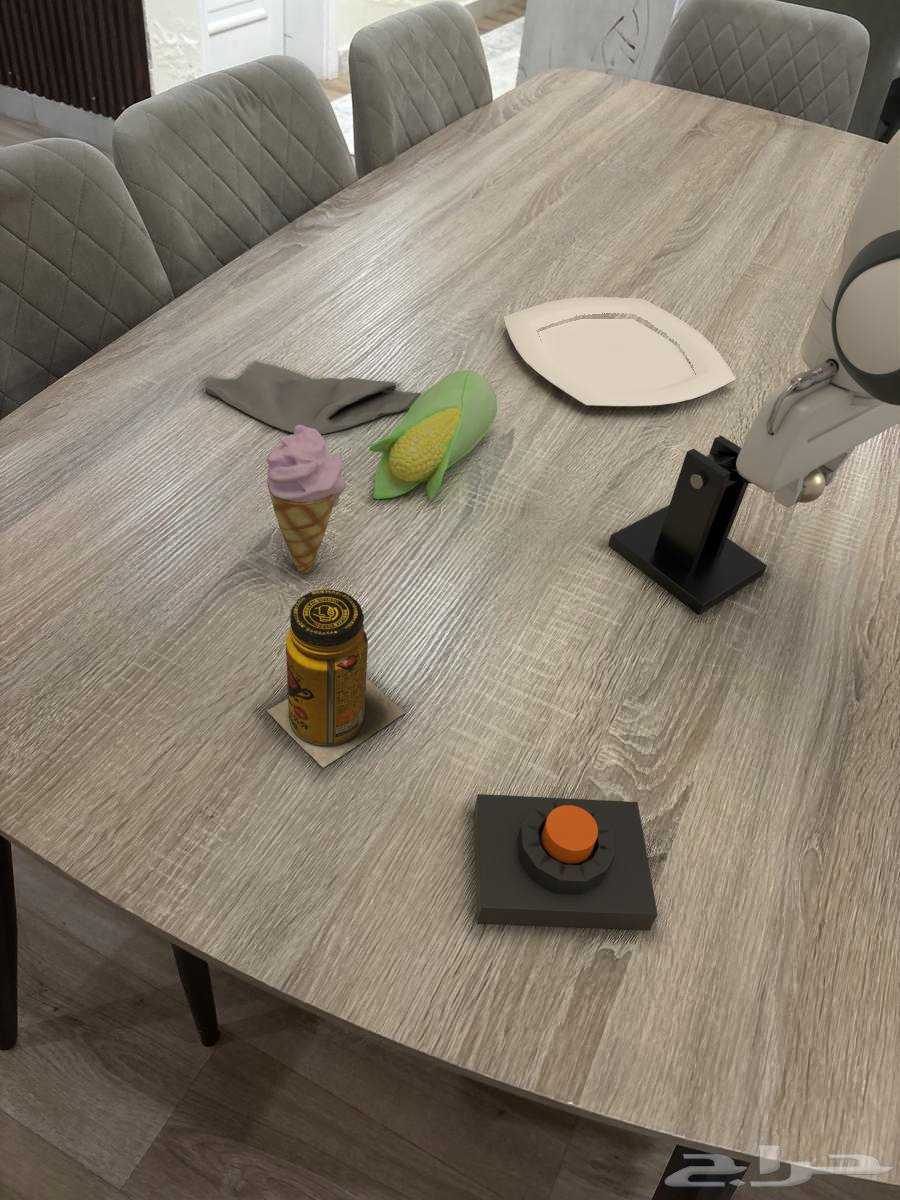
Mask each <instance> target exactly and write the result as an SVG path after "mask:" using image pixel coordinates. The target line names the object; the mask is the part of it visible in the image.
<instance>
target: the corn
mask: <svg viewBox="0 0 900 1200" xmlns="http://www.w3.org/2000/svg"><path fill="white" fill-rule="evenodd" d="M420 394H421V395H420V396H419V398H418V399H417V400H416V401H415V402H414V403H413V405H412V406H411V407H410V408H408V411H407V412H406V414H405V416H404V418H403V419H402V421H401V422H400V423H399V424H397V426H396V427H395V428H394V429H393V430H392V431H391V433H390V434H389V435H387V436H386V437H384V438H382V439H379V440H378V441H375V443H373V444H371V445H370V446H369V451H371V452H373V453H382V454H381V458H380V460H379V462H378V464H377V466H376V470H375V475H374V487H373V494H372V497H373V499H374V500H384V499H393V498H397V497H400V496H402V495H405V494H406V493H408V492H410V491H412V490H413V489H415V488H416V487H417V486H419V484H421V483H423V482H425V481H427V484H426V492H427V496H428V500H432V499H433V498H434V497H435V496H436V494H437V493H438V491H439V489H440V487H441V486H442V482H443V479H444V475H445V473H446V471H447V470H448V469H449V468H451V466H453V465H454V464H456V463H457V462H459V461H461V459H463V458H464V457H465V456H467V455H468V454H469V453H470V452H472V451H473V450H474V449H475V447H476V446H477V445H478V444H479V443H480V441H482V439H483V438H484V437H485V435H486V434H487V433H488V432H489V430H490V429H491V428H492V427H493V425H494V423H495V420H496V418H497V416H498V400H497V399H498V398H497V394H496V391H495V389H494V387H493V385H492V384H491V382H490V381H489V379H488V378H486V377H485V376H483V374H480V373H479V372H476V371H474V370H471V369H469V370H466V369H465V370H457V371H454V372H452V373H450V374H447V375H446V376H445V377H443V378H442V379H440V380H439V381H438V382H437V383H435V384H434V385H432V386H431V387H429V388H427V389H426V390H425V391H424V392H422V393H420Z"/></svg>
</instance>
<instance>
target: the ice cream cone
mask: <svg viewBox="0 0 900 1200" xmlns="http://www.w3.org/2000/svg"><path fill="white" fill-rule="evenodd" d="M280 441H281V444H280V445H278V446H275V447H273V449H271V450H270V451H269V453H268V455H267V458H266V462H267V464H268V467H267V481H266V484H267V489H268V493H269V496H270V500H271V504H272V507H273V511H274V514H275V517H276V520H277V524H278V527H279V529H280V532H281V534H282V537H283V540H284V542H285V545H286V547H287V550H288V552H289V555H290V557H291V559H292V562H293V564H294V567H295V569H296V570H295V571H296V572H297V573H299V574H301V575H305V574H309V573H310V572H311V571H312V569H313V566H314V564H315V560H316V557H317V556H318V553H319V550H320V548H321V545H322V542H323V539H324V536H325V533H326V531H327V528H328V524H329V521H330V518H331V514H332V511H333V508H334V507H335V508H336V507H337V506H338V505H339V503H340V496H341V495H342V494H343V493H344V491H345V490H346V487H347V483H346V480H345V477H344V476H343V474H342V473H341V471H342V470H343V453H342V451H339V452H336V453H335V454H332V453H331V452H330V451H329V450H328V448H326V446H327V445H326V443H327V442H326V440H325V438H324V437H323V436H322V434H320V433H319V432H318V431H317V430H316V429H313V428H308V427H305V426H303V425H297V426H296V427H295V428H294V433H293V434H289V435H282V436H281V437H280Z"/></svg>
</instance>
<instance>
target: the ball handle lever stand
mask: <svg viewBox="0 0 900 1200" xmlns="http://www.w3.org/2000/svg"><path fill="white" fill-rule="evenodd" d="M741 448H742V447H740V446H739V445H738V444H736V443H734V442H732V441H731V440H729V439H728V438H726V437H725V436H723V435H718V436H716V437H715V438H714V439H713V442H712V444H711V447H710V450H709V453H708V455H709V454H718V455H726V456H733V457H736V461H737V458H738V455H739V453H740V451H741ZM684 456H685V457H684V459H683V462H682V464H681V468H680V471H679V475H678V478H677V480H676V484H675V487H674V490H673V493H672V495H671V499H670V502H669V504H668V505H666V506H665V507H662V508H660V509H659V510H656V511H654V512H653V513H650V514H648V515H646V516H645V517H643V518H641V519H638V520H637V521H635V522H633V523H631V524H630V525H627V526H625V527H623V528H621V529H619V530H618V531H616V532H614V533H612V534H611V535H610V537H609V541H608V544H607V545H608V547H610V548H611V549H612V550H614V551H615V552H616V553H618V554H619V555H620V556H621V557H622V558H625V560H627V561H628V562H630V563H631V564H632V565H633V566H634V567H636V568H637V569H638V570H640V571H641V572H642V573H643V574H645V575H646V576H647V577H649V578H650V579H651V580H652V581H654V582H656V583H657V584H658V585H659V586H660V587H661V588H663V589H664V590H666V591H667V592H668V593H669V594H671V595H673V596H674V597H675V598H677V600H679V601H680V602H681V603H682V604H684V605H685V606H686V607H688V608H689V609H691V610H692V611H693V612H694V613H695V614H697V615H698V616H700V615H702V614H703V613H705V612H707V611H708V610H710V609H712V608H713V607H715V606H717V605H718V604H719V603H721V602H723V601H724V600H726V599H727V598H729V597H730V596H732V595H734V594H736V593H738V592H739V591H740V590H742V589H744V588H745V587H747V586H748V585H750V584H751V583H753V582H755V581H756V580H758V579H760V578H761V577H763V576H764V574H765V572H766V569H767V567H768V565H767V564H766V563H765V562H763V561H761V559H759V558H757V557H756V556H754V555H753V554H752V553H751V552H749V551H747V550H746V549H744V548H743V547H742V546H740V545H739V544H737V543H736V542H734V541H733V540H732V539H730V538H729V535H730V532H731V530H732V527H733V524H734V522H735V520H736V517H737V515H738V512H739V510H740V506H741V504H742V502H743V499H744V497H745V495H746V491H747V489H748V487H749V484H750V483H744V482H736V483H734V484H732V485H730V486H728V487H726V486H727V483H728V480H729V477H730V475H731V472H729V471H728V470H726V469H725V468H723V467H721V466H720V465H718V464H717V463H715V462H714V461H712V460H711V459H709V458H708V457H706V456H707V455H705V454H703V453H702V452H700V451H699V450H697V449H695V448H692V449H690V450H688V451H686V453H685V455H684Z"/></svg>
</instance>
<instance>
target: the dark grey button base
mask: <svg viewBox="0 0 900 1200" xmlns="http://www.w3.org/2000/svg"><path fill="white" fill-rule="evenodd" d="M475 800H476V801H475V803H474V808H473V817H474V819H473V821H474V823H473V824H474V852H475V853H474V854H475V858H474V859H475V886H476V887H475V889H476V890H475V891H476V918H477V919H476V921H477V923H476V924H487V925H488V924H489V925H511V926H513V925H514V926H537V927H561V928H563V927H565V928H584V929H585V928H587V929H589V928H590V929H591V928H592V929H613V930H636V931H638V930H639V931H650V930H651V929H652V927H653V925H654V923H655V921H656V919H657V917H658V909H657V903H656V897H655V893H654V887H653V880H652V875H651V870H650V864H649V858H648V854H647V847H646V840H645V837H644V836H645V835H644V831H643V825H642V819H641V813H640V807H639V802H638V801H627V800H626V801H625V800H608V799H607V800H606V799H604V800H603V799H586V798H568V797H567V798H566V797H545V796H529V795H528V796H527V795H526V796H525V795H505V794H488V793H487V794H486V793H477V794H476V799H475ZM563 805H573V806H577V807H580V808H582V809H584V810H586V811H587V812H588V813H589V814H590V815H591V816H592V817H593V818H594V820H595V822H596V824H597V827H598V836H597V839H596V842H595V845H594V847H593V850H592V852H591V854H590V856H589V857H588V858H587V859H586V860H584V861H582V862H580V863H576V864H567V863H562V862H560V861H558V860H556V859H554V858H553V857H551V856H550V855H549V854H548V852H547V851H546V850H545V848H544V846H543V843H542V833H543V829H544V826H545V823H546V819H547V817H548V815H549V813H550V812H551V811H552V810H554V809H555V808H557V807H559V806H563Z"/></svg>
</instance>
